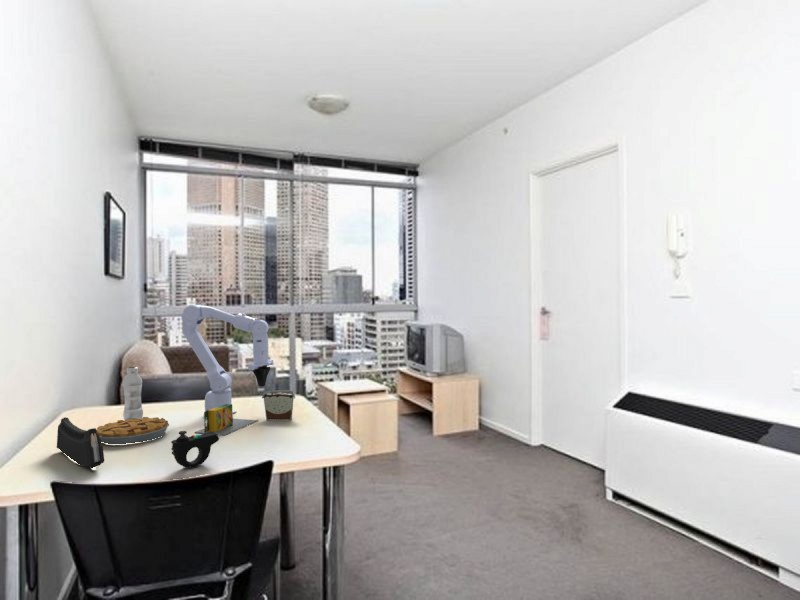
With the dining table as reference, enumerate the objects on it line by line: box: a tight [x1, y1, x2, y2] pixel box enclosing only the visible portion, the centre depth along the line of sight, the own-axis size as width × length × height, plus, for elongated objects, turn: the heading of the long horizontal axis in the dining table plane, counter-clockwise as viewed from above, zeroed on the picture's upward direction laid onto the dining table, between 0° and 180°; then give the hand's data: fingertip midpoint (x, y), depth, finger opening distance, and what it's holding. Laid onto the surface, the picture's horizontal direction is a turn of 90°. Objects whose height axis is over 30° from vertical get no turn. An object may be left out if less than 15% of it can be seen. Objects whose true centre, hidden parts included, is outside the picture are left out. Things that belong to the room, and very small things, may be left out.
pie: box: [96, 416, 170, 444], centre depth 165 cm, size 22×22×5 cm
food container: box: [261, 389, 296, 421], centre depth 187 cm, size 12×6×10 cm, turn 84°
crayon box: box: [203, 404, 234, 433], centre depth 172 cm, size 7×3×12 cm
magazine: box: [56, 417, 105, 469], centre depth 142 cm, size 17×3×30 cm
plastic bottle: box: [122, 366, 144, 421], centre depth 186 cm, size 6×7×20 cm
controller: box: [170, 430, 220, 469], centre depth 136 cm, size 4×12×10 cm, turn 136°
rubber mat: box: [194, 418, 259, 436], centre depth 176 cm, size 12×19×1 cm, turn 162°
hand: (261, 386), depth 196 cm, fingers closed
